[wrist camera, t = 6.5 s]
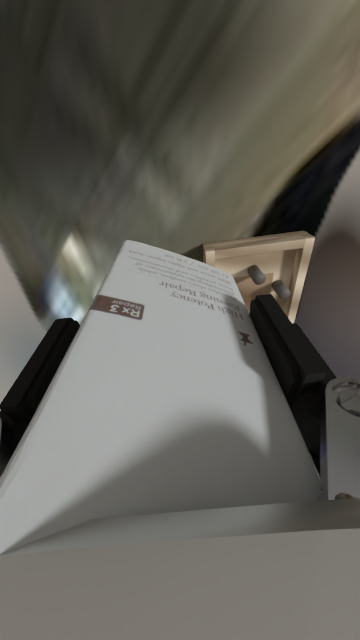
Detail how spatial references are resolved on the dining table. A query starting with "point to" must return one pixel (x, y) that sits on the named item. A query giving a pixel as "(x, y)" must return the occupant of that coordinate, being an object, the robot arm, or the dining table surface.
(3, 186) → the dining table surface
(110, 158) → the dining table surface
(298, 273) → the pin tray
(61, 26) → the dining table surface
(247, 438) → the skincare box
